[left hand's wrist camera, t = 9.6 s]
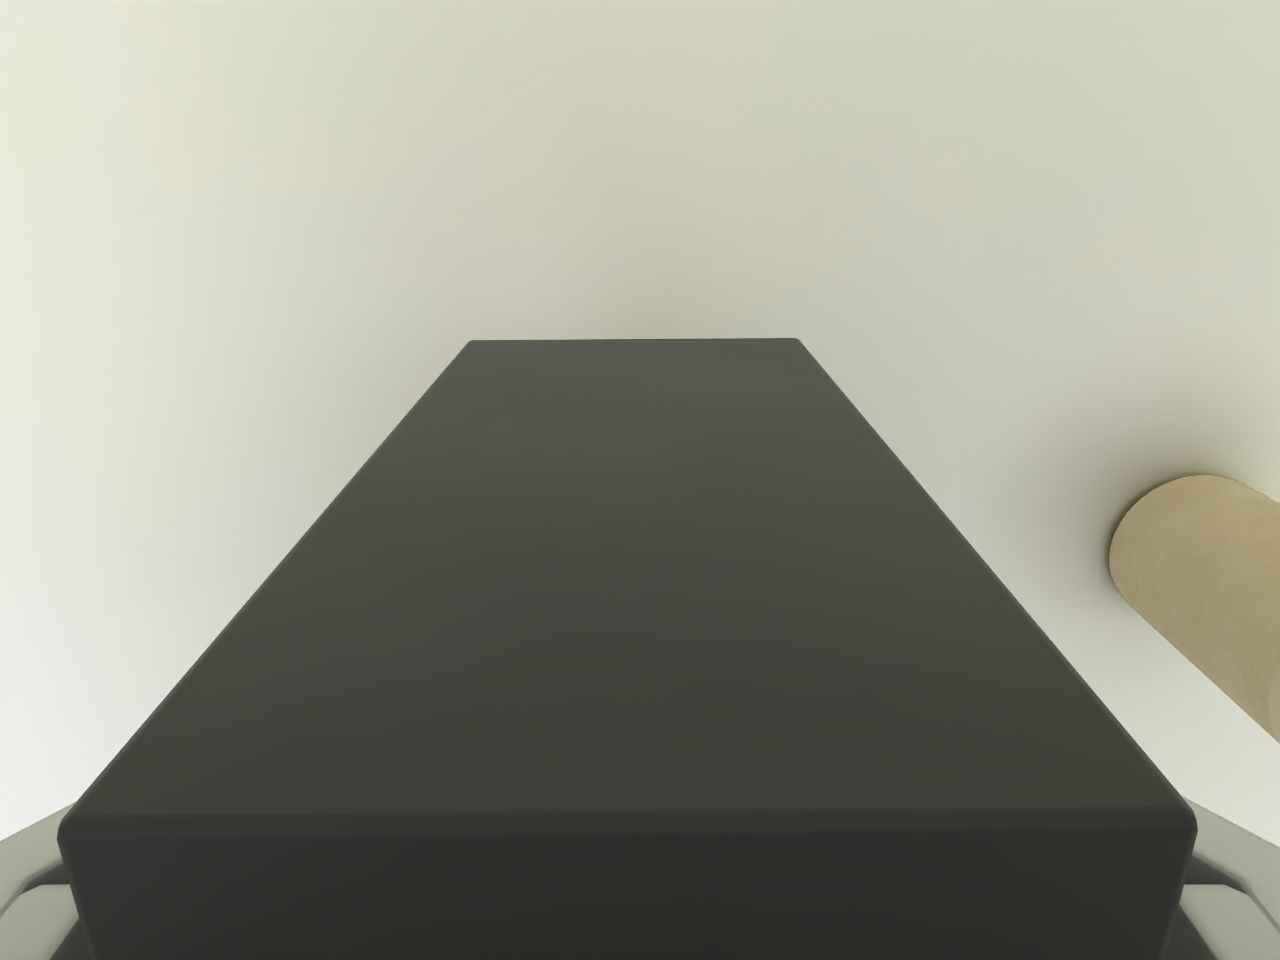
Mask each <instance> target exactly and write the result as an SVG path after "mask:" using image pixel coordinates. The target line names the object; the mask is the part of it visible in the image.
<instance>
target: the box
mask: <svg viewBox="0 0 1280 960" xmlns="http://www.w3.org/2000/svg"><path fill="white" fill-rule="evenodd" d="M1197 833H1198V826H1197V820H1196V817H1195V814H1194V811H1193V810H1192V808H1191V807H1190V806H1189V805H1188V804H1187V802H1186V801H1185V800H1184V799H1183V798H1182V796H1181V795H1180V794H1179V793H1178V792H1177V790H1176V789H1175V788H1174V787H1173V786H1172V785H1171V783H1170V782H1169V781H1168V780H1167V779H1166V777H1165V776H1164V775H1163V774H1162V773H1161V771H1160V770H1159V769H1158V768H1157V767H1156V765H1155V764H1154V763H1153V762H1152V761H1151V759H1150V758H1149V757H1148V756H1147V755H1146V753H1145V752H1144V751H1143V750H1142V749H1141V748H1140V746H1139V745H1138V744H1137V743H1136V742H1135V740H1134V739H1133V738H1132V737H1131V736H1130V734H1129V733H1128V732H1127V731H1126V730H1125V728H1124V727H1123V726H1122V725H1121V724H1120V722H1119V721H1118V720H1117V719H1116V718H1115V716H1114V715H1113V714H1112V713H1111V712H1110V711H1109V709H1108V708H1107V707H1106V706H1105V705H1104V703H1103V702H1102V701H1101V700H1100V699H1099V697H1098V696H1097V695H1096V694H1095V693H1094V691H1093V690H1092V689H1091V688H1090V687H1089V685H1088V684H1087V683H1086V682H1085V681H1084V680H1083V678H1082V677H1081V676H1080V675H1079V674H1078V672H1077V671H1076V670H1075V669H1074V668H1073V666H1072V665H1071V664H1070V663H1069V662H1068V660H1067V659H1066V658H1065V657H1064V656H1063V654H1062V653H1061V652H1060V651H1059V650H1058V648H1057V647H1056V646H1055V645H1054V644H1053V643H1052V641H1051V640H1050V639H1049V638H1048V637H1047V635H1046V634H1045V633H1044V632H1043V631H1042V629H1041V628H1040V627H1039V626H1038V625H1037V623H1036V622H1035V621H1034V620H1033V619H1032V617H1031V616H1030V615H1029V614H1028V613H1027V611H1026V610H1025V609H1024V608H1023V607H1022V606H1021V604H1020V603H1019V602H1018V601H1017V600H1016V598H1015V597H1014V596H1013V595H1012V594H1011V592H1010V591H1009V590H1008V589H1007V588H1006V586H1005V585H1004V584H1003V583H1002V582H1001V580H1000V579H999V578H998V577H997V576H996V574H995V573H994V572H993V571H992V570H991V569H990V567H989V566H988V565H987V564H986V563H985V561H984V560H983V559H982V558H981V557H980V555H979V554H978V553H977V552H976V551H975V549H974V548H973V547H972V546H971V545H970V543H969V542H968V541H967V540H966V539H965V538H964V536H963V535H962V534H961V533H960V532H959V530H958V529H957V528H956V527H955V526H954V524H953V523H952V522H951V521H950V520H949V518H948V517H947V516H946V515H945V514H944V512H943V511H942V510H941V509H940V508H939V506H938V505H937V504H936V503H935V502H934V501H933V499H932V498H931V497H930V496H929V495H928V493H927V492H926V491H925V490H924V489H923V487H922V486H921V485H920V484H919V483H918V481H917V480H916V479H915V478H914V477H913V475H912V474H911V473H910V472H909V471H908V469H907V468H906V467H905V466H904V465H903V464H902V462H901V461H900V460H899V459H898V458H897V456H896V455H895V454H894V453H893V452H892V450H891V449H890V448H889V447H888V446H887V444H886V443H885V442H884V441H883V440H882V438H881V437H880V436H879V435H878V434H877V433H876V431H875V430H874V429H873V428H872V427H871V425H870V424H869V423H868V422H867V421H866V419H865V418H864V417H863V416H862V415H861V413H860V412H859V411H858V410H857V409H856V407H855V406H854V405H853V404H852V403H851V401H850V400H849V399H848V398H847V397H846V396H845V394H844V393H843V392H842V391H841V390H840V388H839V387H838V386H837V385H836V384H835V382H834V381H833V380H832V379H831V378H830V376H829V375H828V374H827V373H826V372H825V370H824V369H823V368H822V367H821V366H820V364H819V363H818V362H817V361H816V360H815V359H814V357H813V356H812V355H811V354H810V353H809V351H808V350H807V349H806V348H805V347H804V345H803V344H802V343H801V342H800V341H799V340H798V339H796V338H745V339H605V340H472V341H470V342H468V343H467V344H466V346H465V347H464V348H463V349H462V350H461V351H460V353H459V354H458V355H457V356H456V357H455V358H454V360H453V361H452V362H451V363H450V364H449V365H448V367H447V368H446V369H445V370H444V371H443V373H442V374H441V375H440V376H439V377H438V378H437V380H436V381H435V382H434V383H433V384H432V385H431V387H430V388H429V389H428V390H427V391H426V392H425V394H424V395H423V396H422V397H421V398H420V399H419V401H418V402H417V403H416V404H415V405H414V407H413V408H412V409H411V410H410V411H409V412H408V414H407V415H406V416H405V417H404V418H403V419H402V421H401V422H400V423H399V424H398V425H397V426H396V428H395V429H394V430H393V431H392V432H391V434H390V435H389V436H388V437H387V438H386V439H385V441H384V442H383V443H382V444H381V445H380V446H379V448H378V449H377V450H376V451H375V452H374V453H373V455H372V456H371V457H370V458H369V459H368V461H367V462H366V463H365V464H364V465H363V466H362V468H361V469H360V470H359V471H358V472H357V473H356V475H355V476H354V477H353V478H352V479H351V480H350V482H349V483H348V484H347V485H346V486H345V487H344V489H343V490H342V491H341V492H340V493H339V495H338V496H337V497H336V498H335V499H334V500H333V502H332V503H331V504H330V505H329V506H328V507H327V509H326V510H325V511H324V512H323V513H322V514H321V516H320V517H319V518H318V519H317V520H316V522H315V523H314V524H313V525H312V526H311V527H310V529H309V530H308V531H307V532H306V533H305V534H304V536H303V537H302V538H301V539H300V540H299V541H298V543H297V544H296V545H295V546H294V547H293V549H292V550H291V551H290V552H289V553H288V554H287V556H286V557H285V558H284V559H283V560H282V561H281V563H280V564H279V565H278V566H277V567H276V568H275V570H274V571H273V572H272V573H271V574H270V575H269V577H268V578H267V579H266V580H265V581H264V583H263V584H262V585H261V586H260V587H259V588H258V590H257V591H256V592H255V593H254V594H253V595H252V597H251V598H250V599H249V600H248V601H247V602H246V604H245V605H244V606H243V607H242V608H241V610H240V611H239V612H238V613H237V614H236V615H235V617H234V618H233V619H232V620H231V621H230V622H229V624H228V625H227V626H226V627H225V628H224V629H223V631H222V632H221V633H220V634H219V635H218V637H217V638H216V639H215V640H214V641H213V642H212V644H211V645H210V646H209V647H208V648H207V649H206V651H205V652H204V653H203V654H202V655H201V656H200V658H199V659H198V660H197V661H196V662H195V663H194V665H193V666H192V667H191V668H190V669H189V671H188V672H187V673H186V674H185V675H184V676H183V678H182V679H181V680H180V681H179V682H178V683H177V685H176V686H175V687H174V688H173V689H172V690H171V692H170V693H169V694H168V695H167V696H166V698H165V699H164V700H163V701H162V702H161V703H160V705H159V706H158V707H157V708H156V709H155V710H154V712H153V713H152V714H151V715H150V716H149V717H148V719H147V720H146V721H145V722H144V723H143V725H142V726H141V727H140V728H139V729H138V730H137V732H136V733H135V734H134V735H133V736H132V737H131V739H130V740H129V741H128V742H127V743H126V744H125V746H124V747H123V748H122V749H121V750H120V751H119V753H118V754H117V755H116V756H115V757H114V759H113V760H112V761H111V762H110V763H109V764H108V766H107V767H106V768H105V769H104V770H103V771H102V773H101V774H100V775H99V776H98V777H97V778H96V780H95V781H94V782H93V783H92V784H91V786H90V787H89V788H88V789H87V790H86V791H85V793H84V794H83V795H82V796H81V797H80V798H79V800H78V801H77V802H76V803H75V804H74V805H73V807H72V808H71V809H70V810H69V811H68V813H67V814H66V815H65V816H64V817H63V818H62V820H61V822H60V825H59V828H58V833H57V842H58V846H59V849H60V853H61V856H62V860H63V863H64V867H65V870H66V874H67V877H68V881H69V884H70V888H71V891H72V895H73V898H74V901H75V905H76V908H77V912H78V915H79V919H80V922H81V926H82V929H83V933H84V936H85V940H86V943H87V947H88V950H89V954H90V957H91V960H1165V956H1166V953H1167V949H1168V945H1169V941H1170V937H1171V933H1172V929H1173V925H1174V922H1175V918H1176V914H1177V910H1178V906H1179V902H1180V898H1181V895H1182V891H1183V887H1184V883H1185V879H1186V875H1187V871H1188V867H1189V864H1190V860H1191V856H1192V852H1193V848H1194V844H1195V840H1196V837H1197Z"/></svg>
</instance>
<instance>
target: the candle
mask: <svg viewBox="0 0 1280 960" xmlns="http://www.w3.org/2000/svg"><path fill="white" fill-rule="evenodd" d="M1109 568H1110V572H1111V577H1112V579H1113V582H1114V584H1115V586H1116V588H1117V589H1118V591H1119V593H1120V594H1121V596H1122V597H1123V598H1124V599H1125V600H1126V602H1127V603H1128V604H1129V605H1130V606H1131V607H1132V608H1133V609H1134V610H1135V611H1136V612H1137V613H1138V614H1139V615H1141V616H1142V617H1143V618H1144V619H1145V620H1146V621H1147V622H1148V623H1149V624H1150V625H1151V626H1152V627H1154V628H1155V629H1156V630H1157V631H1158V632H1159V633H1160V634H1161V635H1162V636H1163V637H1164V638H1166V639H1167V640H1168V641H1169V642H1170V643H1171V644H1172V645H1173V646H1174V647H1175V648H1176V649H1177V650H1179V651H1180V652H1181V653H1182V654H1183V655H1184V656H1185V657H1186V658H1187V659H1188V660H1189V661H1191V662H1192V663H1193V664H1194V665H1195V666H1196V667H1197V668H1198V669H1199V670H1200V671H1201V672H1202V673H1204V674H1205V675H1206V676H1207V677H1208V678H1209V679H1210V680H1211V681H1212V682H1213V683H1214V684H1216V685H1217V686H1218V687H1219V688H1220V689H1221V690H1222V691H1223V692H1224V693H1225V694H1226V695H1227V696H1229V697H1230V698H1231V699H1232V700H1233V701H1234V702H1235V703H1236V704H1237V705H1238V706H1239V707H1241V708H1242V709H1243V710H1244V711H1245V712H1246V713H1247V714H1248V715H1249V716H1250V717H1251V718H1252V719H1254V720H1255V721H1256V722H1257V723H1258V724H1259V725H1260V726H1261V727H1262V728H1263V729H1264V730H1266V731H1267V732H1268V733H1269V734H1270V735H1271V736H1272V737H1273V738H1274V739H1275V740H1276V741H1278V742H1279V743H1280V504H1279V503H1278V502H1276V501H1274V500H1272V499H1270V498H1269V497H1267V496H1265V495H1263V494H1261V493H1259V492H1257V491H1255V490H1254V489H1252V488H1250V487H1248V486H1246V485H1244V484H1242V483H1239V482H1237V481H1234V480H1231V479H1228V478H1224V477H1220V476H1214V475H1193V476H1187V477H1182V478H1179V479H1176V480H1173V481H1170V482H1167V483H1165V484H1163V485H1161V486H1159V487H1157V488H1155V489H1154V490H1152V491H1150V492H1149V493H1148V494H1146V495H1145V496H1144V497H1142V498H1141V499H1140V500H1139V501H1138V502H1137V503H1136V504H1135V505H1133V507H1132V508H1131V509H1130V510H1129V511H1128V512H1127V513H1126V515H1125V516H1124V518H1123V519H1122V521H1121V522H1120V524H1119V526H1118V528H1117V529H1116V531H1115V534H1114V537H1113V539H1112V543H1111V547H1110V553H1109Z"/></svg>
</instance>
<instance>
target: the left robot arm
mask: <svg viewBox="0 0 1280 960" xmlns="http://www.w3.org/2000/svg"><path fill="white" fill-rule="evenodd" d="M1182 798H1183V799H1184V800H1185V801H1186V802H1187V804H1188V805H1189V806H1190V807H1191V808H1192V810H1193V811H1194V814H1195V817H1196V820H1197V826H1198V833H1197V837H1196V840H1195V844H1194V848H1193V852H1192V856H1191V860H1190V864H1189V867H1188V871H1187V875H1186V879H1185V883H1184V887H1183V891H1182V895H1181V898H1180V902H1179V906H1178V910H1177V914H1176V918H1175V922H1174V925H1173V929H1172V933H1171V937H1170V941H1169V945H1168V949H1167V953H1166V956H1165V960H1280V847H1278V846H1276V845H1274V844H1272V843H1270V842H1268V841H1266V840H1264V839H1262V838H1261V837H1259V836H1257V835H1255V834H1253V833H1251V832H1249V831H1247V830H1245V829H1243V828H1242V827H1240V826H1238V825H1236V824H1234V823H1232V822H1230V821H1228V820H1226V819H1224V818H1223V817H1221V816H1219V815H1217V814H1215V813H1213V812H1211V811H1209V810H1207V809H1205V808H1203V807H1202V806H1200V805H1198V804H1196V803H1194V802H1192V801H1190V800H1188V799H1186V798H1184V797H1183V796H1182ZM75 803H76V802H75ZM75 803H73V804H71V805H69V806H67V807H65V808H63V809H61V810H60V811H58V812H56V813H54V814H52V815H50V816H48V817H46V818H44V819H42V820H40V821H38V822H36V823H35V824H33V825H31V826H29V827H27V828H25V829H23V830H21V831H19V832H17V833H15V834H13V835H11V836H10V837H8V838H6V839H4V840H2V841H0V960H91V957H90V954H89V950H88V947H87V943H86V940H85V936H84V933H83V929H82V926H81V922H80V919H79V915H78V912H77V908H76V905H75V901H74V898H73V895H72V891H71V888H70V884H69V881H68V877H67V874H66V870H65V867H64V863H63V860H62V856H61V853H60V849H59V846H58V842H57V833H58V828H59V825H60V822H61V820H62V818H63V817H64V816H65V815H66V814H67V813H68V811H69V810H70V809H71V808H72V807H73V805H74V804H75Z"/></svg>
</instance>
